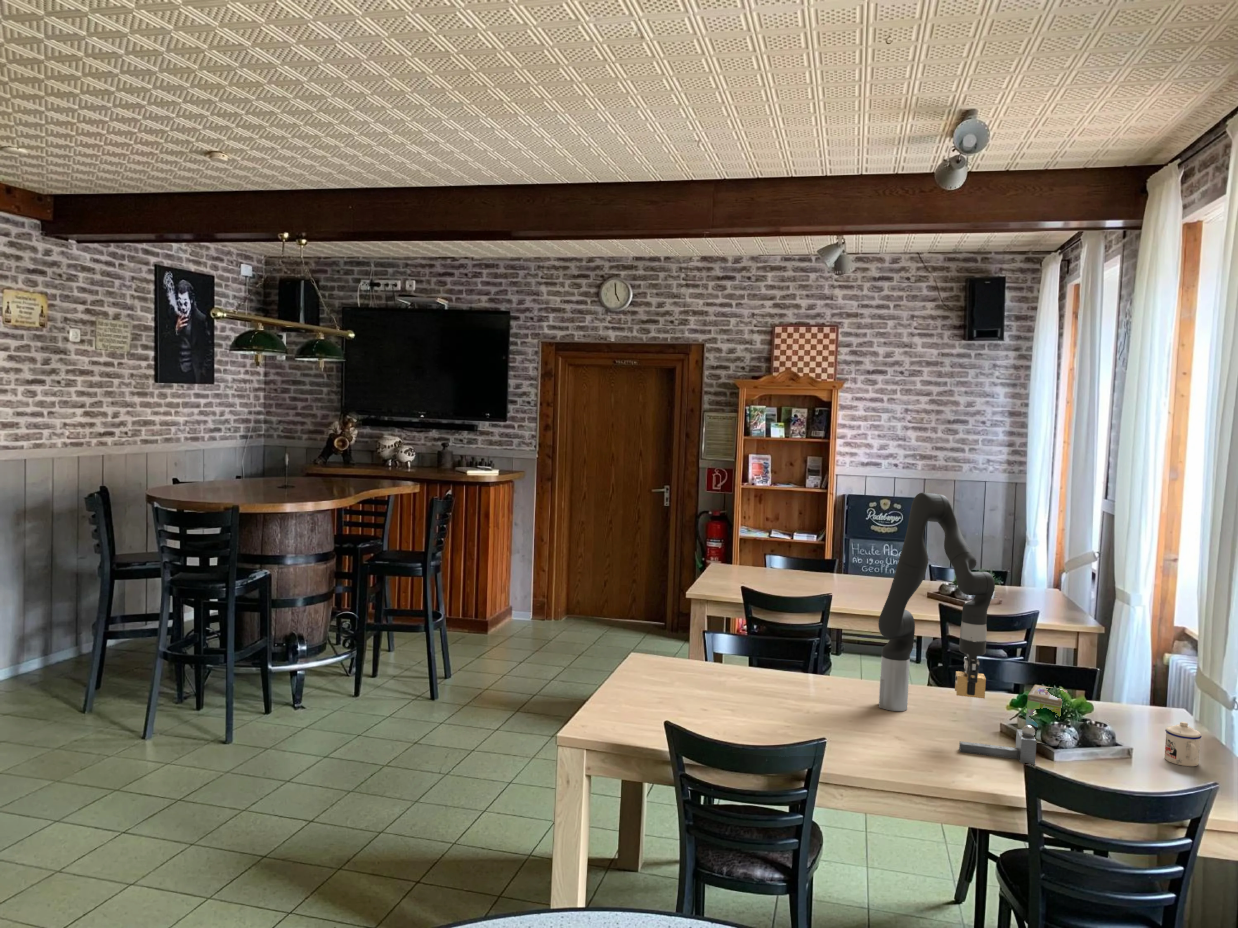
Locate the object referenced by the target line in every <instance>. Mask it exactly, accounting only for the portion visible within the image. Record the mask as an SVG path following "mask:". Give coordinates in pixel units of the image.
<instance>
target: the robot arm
mask: <svg viewBox="0 0 1238 928" xmlns="http://www.w3.org/2000/svg"><path fill="white" fill-rule="evenodd" d="M910 507H911V508H910V510H909V511H910V512H909V516H908V517H909V518H908V522H907V529H906V533H905V537H904V541H903V544H902V549H901V552H900V555H899V558H898V560H897V561H898V562H897V565H896V568H895V572H894V577H893V579H892V582H891V585H890V590H889V592H888V595H887V598H886V600H885V603H884V605H883V607H882V610H881V612H880V615H879V618H878V622H877V623H878V630H879V633H880V635H881V636H883V638H886V639H889V640H888V642H887V643H886V644H885V645H884V646H882V648H881V657H880V659H881V660H880V676H879V695H878V708H879V709H884V710H887V711H890V712H891V711H892V712H904V711H907V710H908V701H909V700H908V699H909V682H910V681H909V680H910V664H911V662H910V661H911V654H912V652H913V649H914V642H915V632H916V622H915V619H914V615H913V614H912V613H911V612H910V611H909V610H907V609H906V607H907V605H908V602H909V601H910V599H911V598H912V597H913V595H914V594H915V592H916V591H917V590H918V589H919V587H920V585H922V583H923V580H924V578H925V574H926V572H927V568H928V565H929V555H928V550H927V548H926V543H925V540H924V533H925V531H926V530H925V529H926V526H927V523H928V522H930V523H938V524H939V526H940V527H941V528H942V530H943V533H944V539H943V540H944V541H943V542H944V543H943V548H944V552H945V555H946V557H947V558H948V560H949V562H950V564H951V565H952V567H953V569H954V570H953V571H954V575H955V580H956V584H957V587H958V589H959V591H960V592H961V593H962V594H964V595H966V596H974V597H973V599H972V600H970V601H967V602H965V603H964V604H963V605H962V612H961V625H960V631H959V646H958V650H959V652H960V653H962V654H964V658H963V662H964V664H963V669H964V670H963V672H966V675H967V682H968V683H967V694H968V695H975V684H976V683H977V681H978V680H977V677H978V673H979V667H980V659H979V658H978V656H982V655H983V656H984V655H985V654H986V649H987V635H988V631H987V629H988V628H987V622H988V621H987V620H988V618H987V617H988V610H989V607H990V605H991V602H992V598H993V596H994V592H995V588H996V584H995V578H994V577H993V575H992V574H991V573H990V572H987V571H973V570H974V569H975V568H976V567H977V560H976V557H975V555H974V554H973V551H972V550H971V548H970V547H969V545H968V543H967V542H966V540H965V537H964V536H963V533H962V531H961V528H960V525H959V523H958V520H957V518H956V515H955V512H954V509H953V507H952V504H951V503H950V500H949V499H948V497H947V496H945V495H944V494H939V493H932V492H931V493H930V492H920V493H917V494H916V496H914V498H913V500H912V503H911V506H910ZM971 675H974V678H970V677H971Z"/></svg>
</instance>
